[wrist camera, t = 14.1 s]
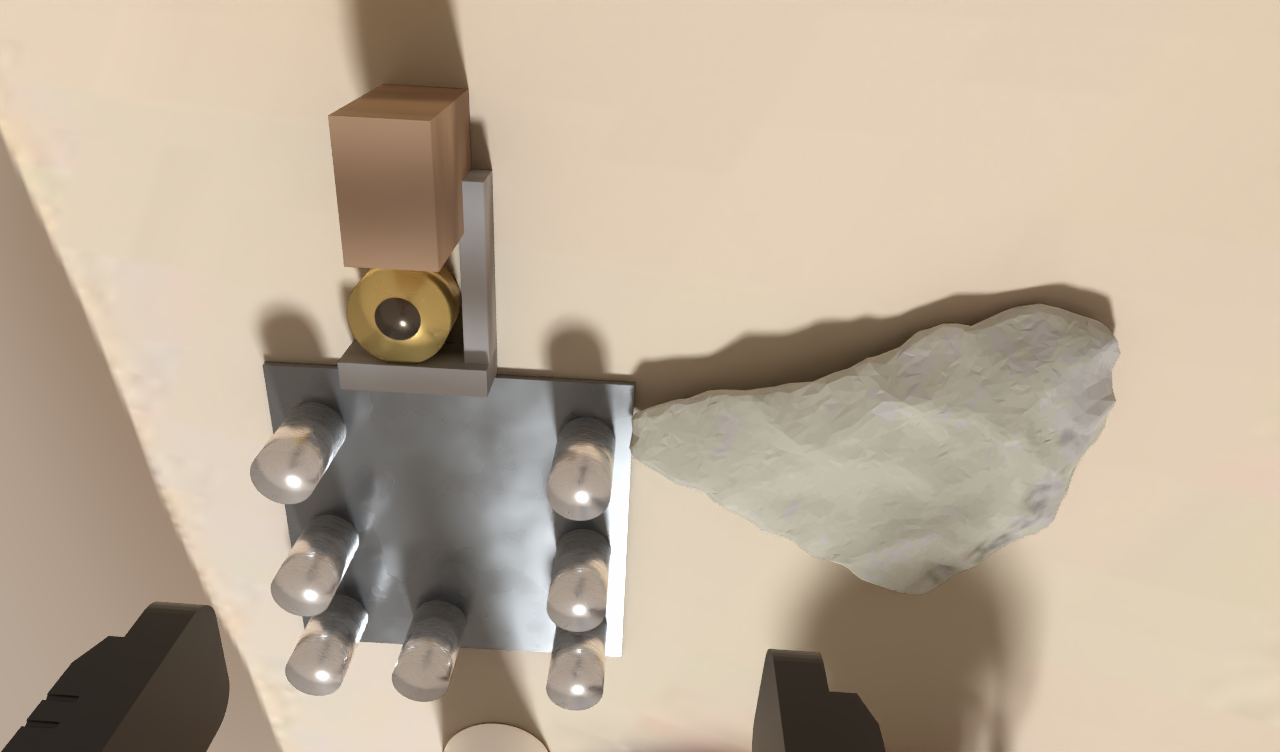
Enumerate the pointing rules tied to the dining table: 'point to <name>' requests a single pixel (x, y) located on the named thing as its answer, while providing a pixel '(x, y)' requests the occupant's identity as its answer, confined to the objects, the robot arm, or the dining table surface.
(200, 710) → the robot arm
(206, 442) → the dining table surface
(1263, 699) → the dining table surface
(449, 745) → the cosmetic bottle
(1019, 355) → the stone tool
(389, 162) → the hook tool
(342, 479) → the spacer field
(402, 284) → the gold short cylinder
